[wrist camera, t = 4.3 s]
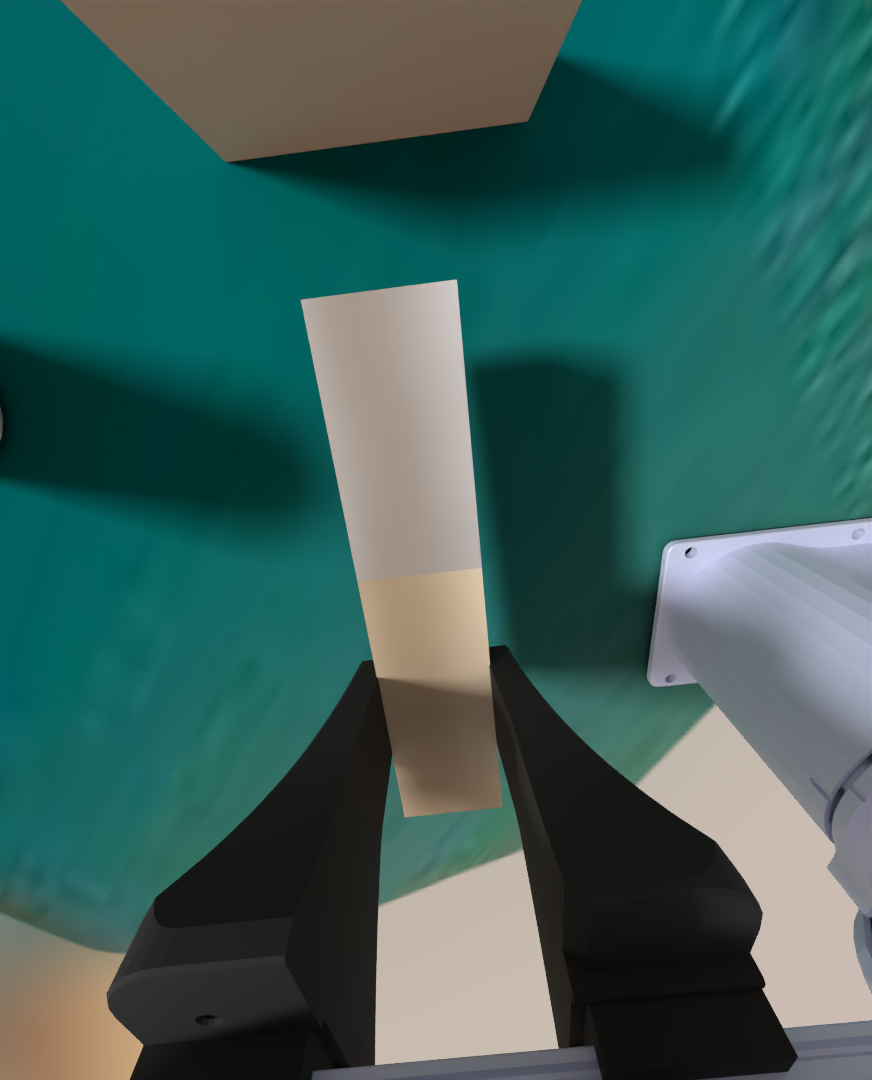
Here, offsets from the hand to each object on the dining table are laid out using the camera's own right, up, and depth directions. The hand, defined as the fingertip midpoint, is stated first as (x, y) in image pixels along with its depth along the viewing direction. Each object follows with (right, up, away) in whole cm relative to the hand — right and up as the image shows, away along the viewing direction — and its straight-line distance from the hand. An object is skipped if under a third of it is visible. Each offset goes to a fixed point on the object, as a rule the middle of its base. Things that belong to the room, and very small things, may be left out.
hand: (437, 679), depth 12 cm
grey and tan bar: (0, +3, +1) cm, 4 cm away
